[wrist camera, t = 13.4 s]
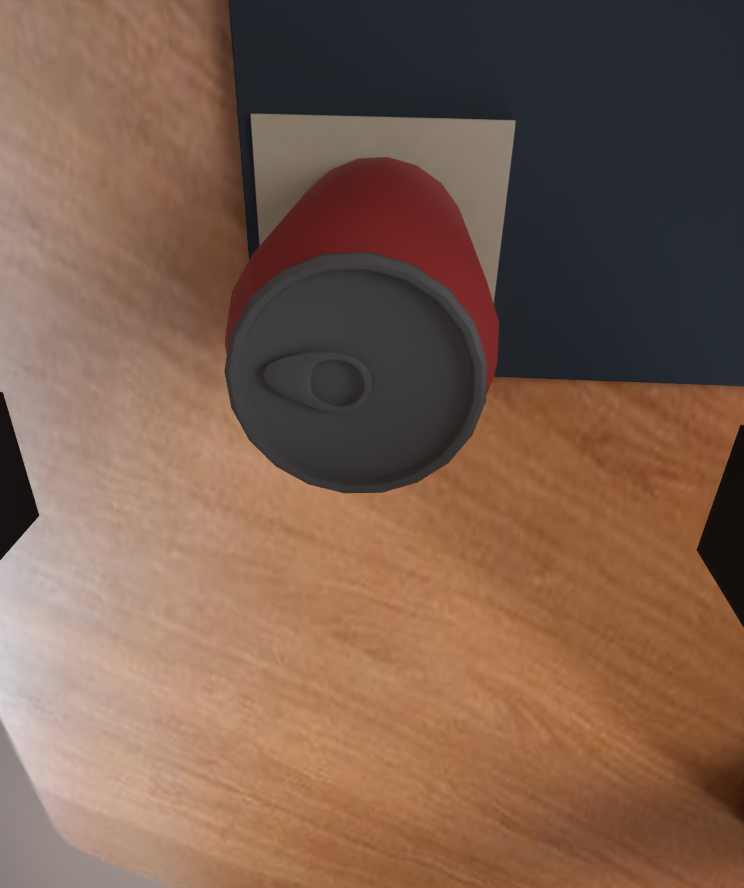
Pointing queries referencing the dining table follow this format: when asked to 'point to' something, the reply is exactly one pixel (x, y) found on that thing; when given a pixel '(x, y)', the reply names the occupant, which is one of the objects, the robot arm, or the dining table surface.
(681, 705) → the dining table surface
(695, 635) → the dining table surface
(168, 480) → the dining table surface
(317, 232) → the beer can
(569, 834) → the dining table surface
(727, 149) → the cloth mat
